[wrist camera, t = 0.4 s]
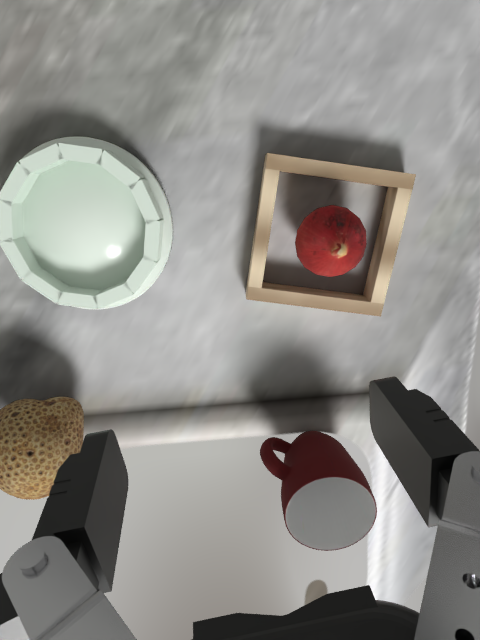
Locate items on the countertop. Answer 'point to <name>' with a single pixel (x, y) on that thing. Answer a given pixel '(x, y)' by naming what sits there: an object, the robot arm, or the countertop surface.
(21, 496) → the natural sponge
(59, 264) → the dish
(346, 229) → the onion
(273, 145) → the countertop surface
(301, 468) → the mug
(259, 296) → the holder
